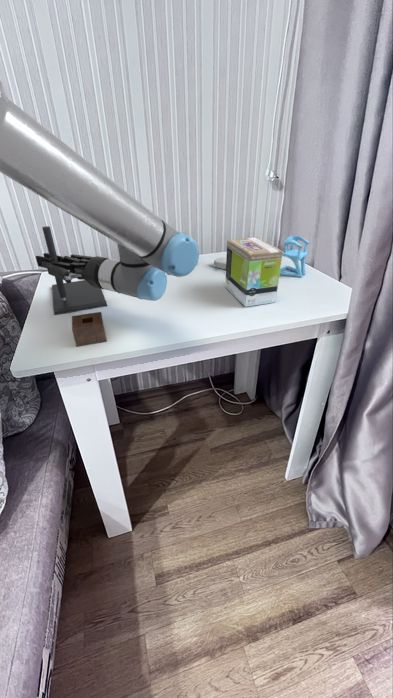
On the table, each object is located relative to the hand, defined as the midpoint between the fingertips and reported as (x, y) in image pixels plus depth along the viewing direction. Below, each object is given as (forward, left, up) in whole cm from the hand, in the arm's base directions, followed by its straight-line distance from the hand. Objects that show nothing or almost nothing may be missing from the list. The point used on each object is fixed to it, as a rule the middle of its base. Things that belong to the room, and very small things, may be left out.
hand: (42, 259), depth 88 cm
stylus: (+5, -2, -11) cm, 12 cm away
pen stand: (+21, -16, -12) cm, 29 cm away
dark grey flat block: (+6, +4, -12) cm, 14 cm away
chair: (+67, +36, -12) cm, 77 cm away
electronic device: (+47, +36, -12) cm, 61 cm away
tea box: (+55, +16, -12) cm, 59 cm away
